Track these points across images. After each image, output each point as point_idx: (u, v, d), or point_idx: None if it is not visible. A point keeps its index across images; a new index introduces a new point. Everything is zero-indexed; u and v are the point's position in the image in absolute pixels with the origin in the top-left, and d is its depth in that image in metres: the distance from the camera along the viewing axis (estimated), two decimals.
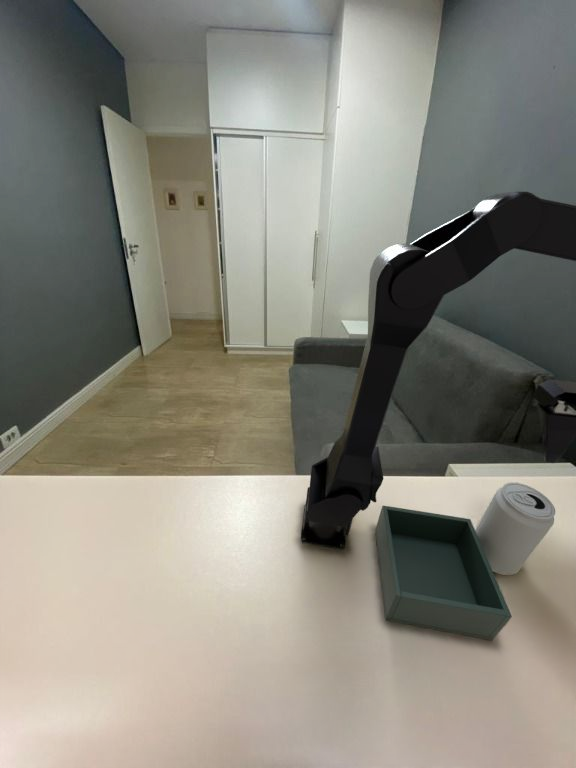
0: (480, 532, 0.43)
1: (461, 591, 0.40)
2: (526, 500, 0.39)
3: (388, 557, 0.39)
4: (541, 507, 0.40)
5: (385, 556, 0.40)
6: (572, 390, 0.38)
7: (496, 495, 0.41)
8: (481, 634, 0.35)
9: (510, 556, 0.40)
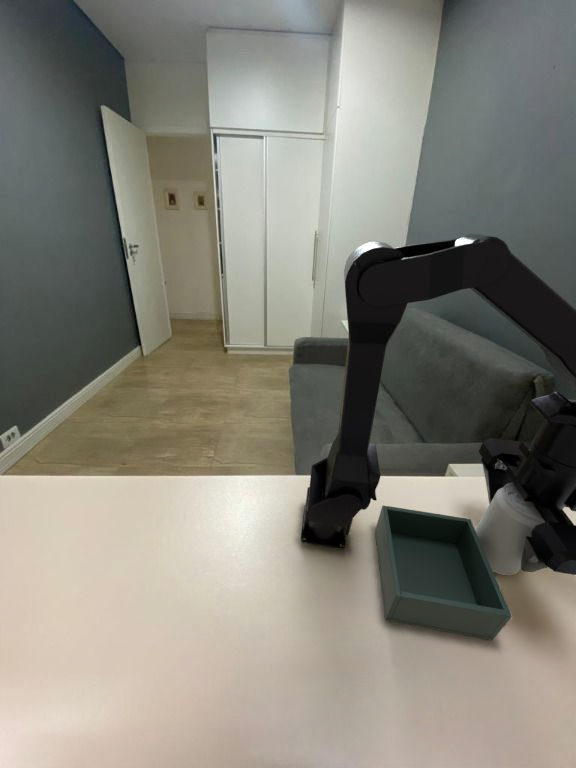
0: (480, 532, 0.43)
1: (461, 591, 0.40)
2: None
3: (388, 557, 0.39)
4: None
5: (385, 556, 0.40)
6: (508, 451, 0.43)
7: (497, 495, 0.41)
8: (481, 634, 0.35)
9: (510, 556, 0.40)
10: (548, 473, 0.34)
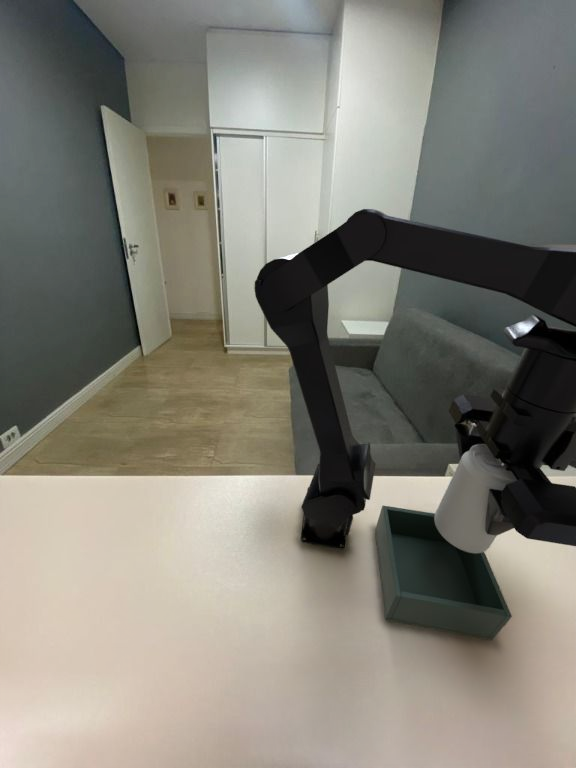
0: (444, 503, 0.37)
1: (461, 591, 0.40)
2: (496, 461, 0.33)
3: (388, 557, 0.39)
4: None
5: (385, 556, 0.40)
6: (481, 407, 0.37)
7: (463, 458, 0.34)
8: (481, 634, 0.35)
9: (477, 529, 0.34)
10: (523, 420, 0.27)
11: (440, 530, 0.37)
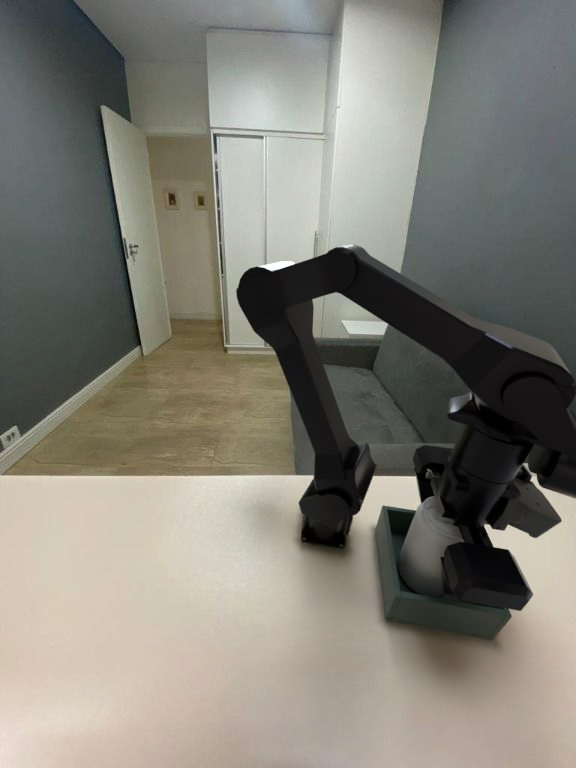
0: (404, 549, 0.39)
1: None
2: None
3: (388, 557, 0.39)
4: None
5: (385, 556, 0.40)
6: (439, 459, 0.39)
7: (417, 510, 0.37)
8: (481, 634, 0.35)
9: (431, 577, 0.36)
10: (463, 487, 0.30)
11: (401, 573, 0.40)
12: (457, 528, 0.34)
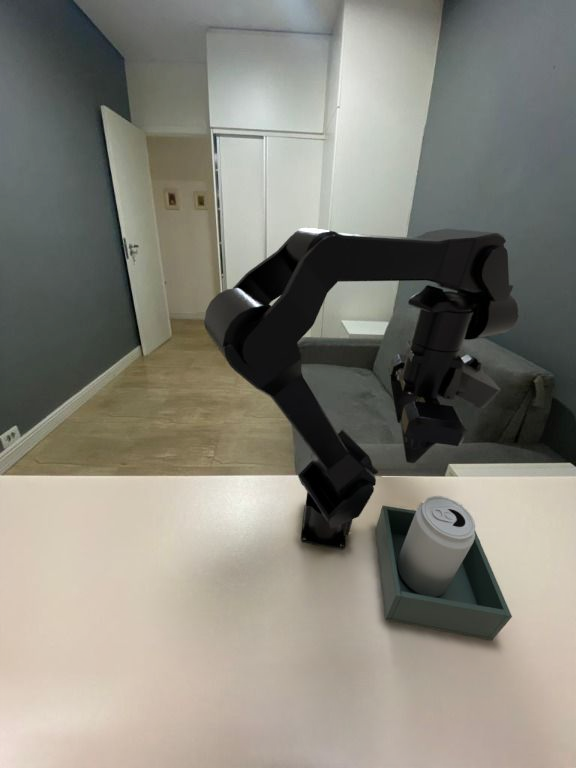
0: (404, 549, 0.39)
1: (461, 591, 0.40)
2: (446, 516, 0.35)
3: (388, 557, 0.39)
4: None
5: (385, 556, 0.40)
6: None
7: (417, 510, 0.37)
8: (481, 634, 0.35)
9: (431, 577, 0.36)
10: (418, 359, 0.37)
11: (401, 573, 0.40)
12: (457, 528, 0.34)
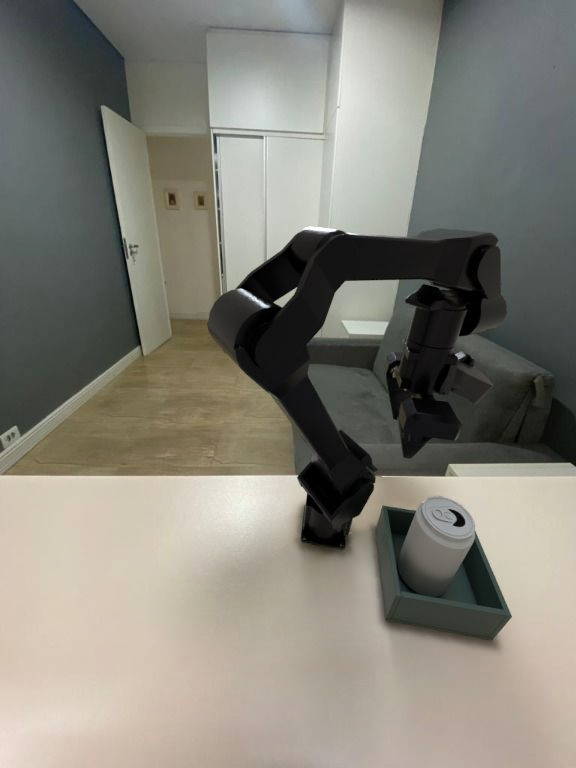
0: (404, 549, 0.39)
1: (461, 591, 0.40)
2: (446, 516, 0.35)
3: (388, 557, 0.39)
4: None
5: (385, 556, 0.40)
6: None
7: (417, 510, 0.37)
8: (481, 634, 0.35)
9: (431, 577, 0.36)
10: (414, 356, 0.38)
11: (401, 573, 0.40)
12: (457, 528, 0.34)
